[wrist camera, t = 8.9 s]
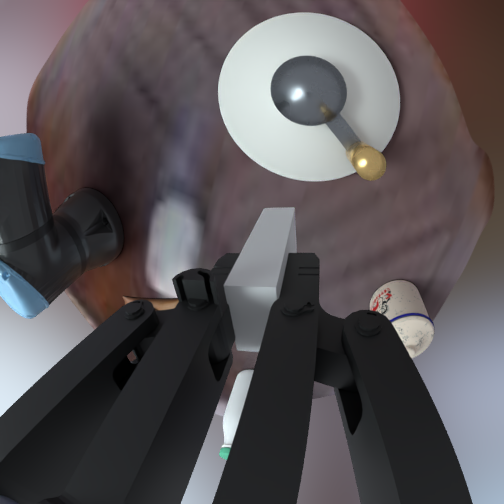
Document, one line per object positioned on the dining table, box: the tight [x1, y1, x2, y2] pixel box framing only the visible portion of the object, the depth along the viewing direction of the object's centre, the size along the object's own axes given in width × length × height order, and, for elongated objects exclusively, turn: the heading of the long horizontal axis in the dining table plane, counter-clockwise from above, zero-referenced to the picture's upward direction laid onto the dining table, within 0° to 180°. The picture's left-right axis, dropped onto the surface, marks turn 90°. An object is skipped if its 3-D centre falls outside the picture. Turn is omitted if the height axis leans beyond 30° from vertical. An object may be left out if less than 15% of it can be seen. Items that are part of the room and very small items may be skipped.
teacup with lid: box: [370, 280, 434, 358], centre depth 35 cm, size 12×9×12 cm
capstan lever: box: [270, 56, 386, 181], centre depth 24 cm, size 14×8×8 cm, turn 43°
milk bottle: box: [219, 369, 254, 460], centre depth 47 cm, size 8×8×20 cm
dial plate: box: [218, 13, 400, 181], centre depth 28 cm, size 22×22×2 cm
